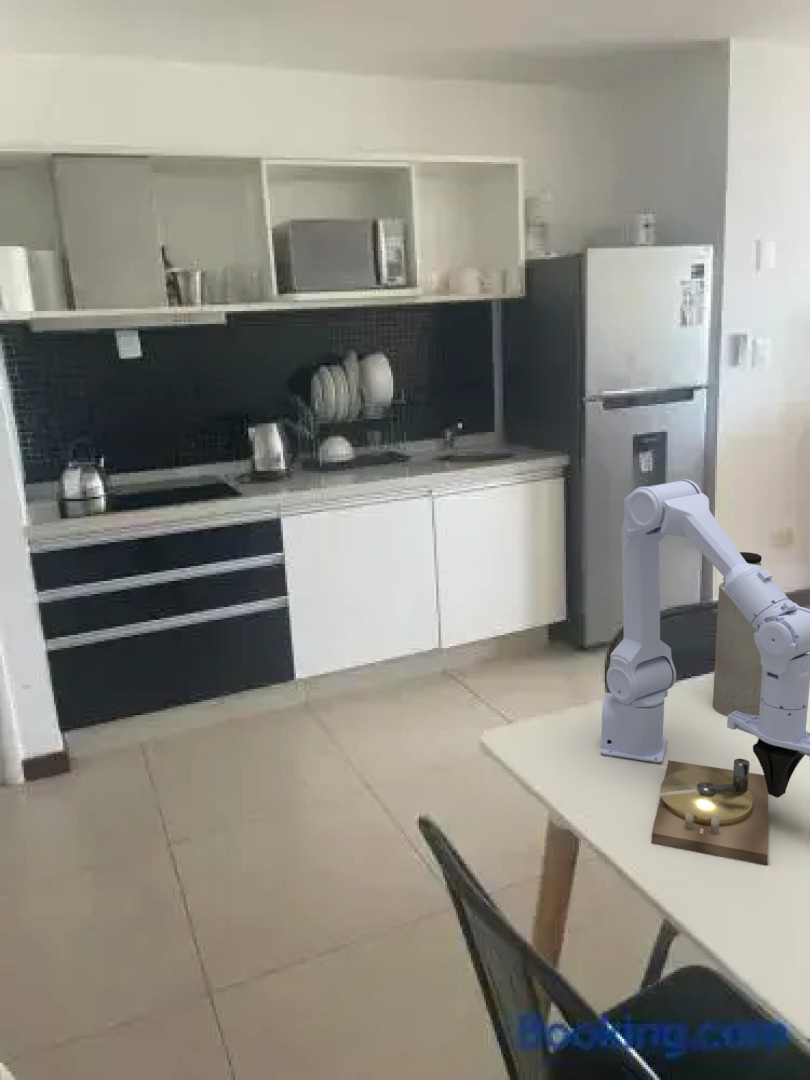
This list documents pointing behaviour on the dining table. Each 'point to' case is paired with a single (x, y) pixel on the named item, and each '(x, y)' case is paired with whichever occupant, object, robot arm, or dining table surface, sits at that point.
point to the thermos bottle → (736, 657)
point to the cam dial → (709, 794)
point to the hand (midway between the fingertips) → (776, 793)
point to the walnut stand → (717, 824)
